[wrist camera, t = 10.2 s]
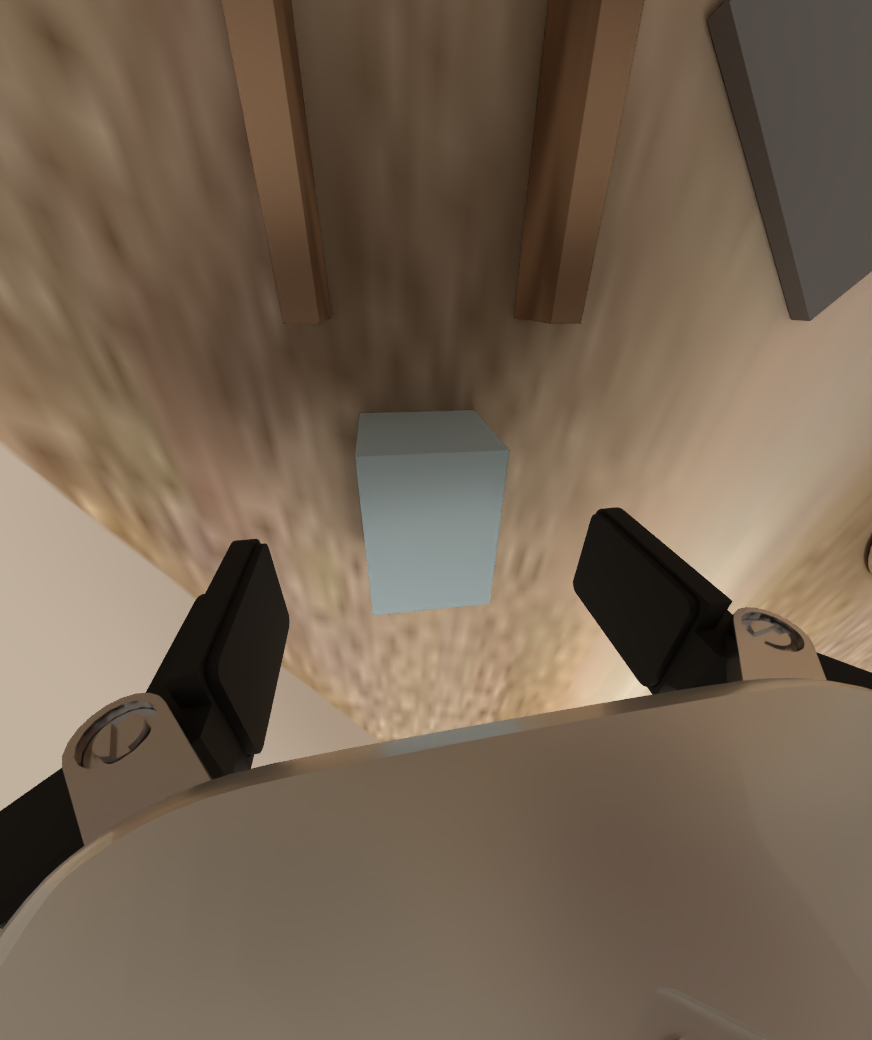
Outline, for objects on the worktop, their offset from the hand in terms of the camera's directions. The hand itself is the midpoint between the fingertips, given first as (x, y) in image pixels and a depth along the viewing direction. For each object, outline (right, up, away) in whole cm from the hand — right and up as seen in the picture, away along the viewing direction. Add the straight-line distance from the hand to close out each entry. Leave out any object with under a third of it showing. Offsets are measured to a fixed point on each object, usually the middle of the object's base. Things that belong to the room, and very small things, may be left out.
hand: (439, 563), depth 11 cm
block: (-1, +3, +7) cm, 8 cm away
